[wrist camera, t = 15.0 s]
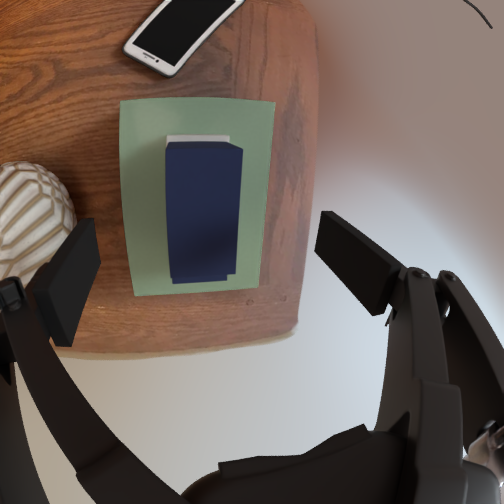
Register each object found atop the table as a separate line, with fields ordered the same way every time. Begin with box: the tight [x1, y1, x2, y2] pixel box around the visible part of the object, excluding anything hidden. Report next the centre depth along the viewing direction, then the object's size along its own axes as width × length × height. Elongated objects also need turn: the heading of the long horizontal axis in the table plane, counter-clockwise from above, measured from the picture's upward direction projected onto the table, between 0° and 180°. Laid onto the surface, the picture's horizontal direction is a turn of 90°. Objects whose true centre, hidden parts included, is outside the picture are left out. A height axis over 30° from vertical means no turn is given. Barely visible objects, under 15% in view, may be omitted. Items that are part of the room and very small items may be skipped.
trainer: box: [165, 134, 243, 284], centre depth 22 cm, size 13×5×8 cm, turn 176°
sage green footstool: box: [119, 97, 275, 296], centre depth 29 cm, size 14×20×8 cm
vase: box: [0, 161, 77, 312], centre depth 19 cm, size 16×16×20 cm
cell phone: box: [122, 0, 246, 78], centre depth 22 cm, size 8×15×1 cm, turn 143°
